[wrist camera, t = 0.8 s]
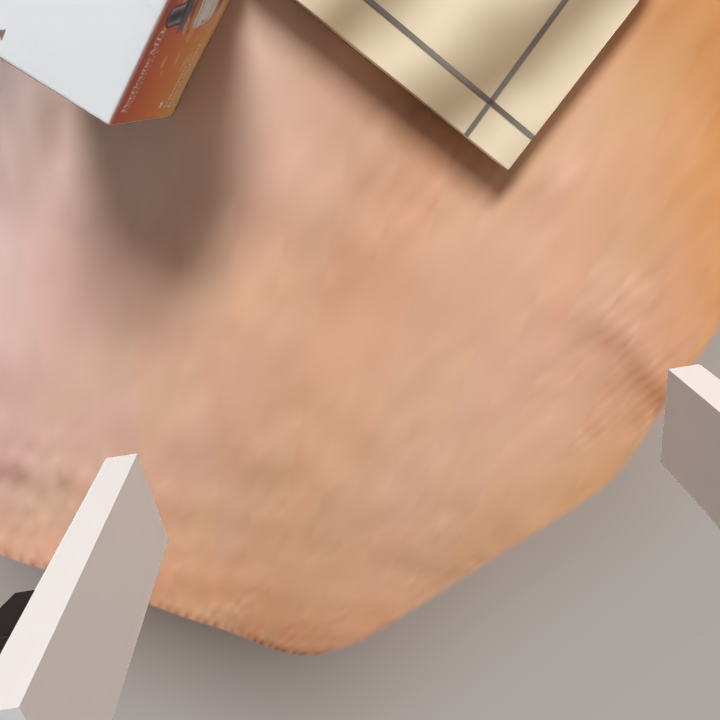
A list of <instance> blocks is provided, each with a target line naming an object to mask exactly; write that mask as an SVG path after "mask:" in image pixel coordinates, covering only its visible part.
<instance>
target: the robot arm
mask: <svg viewBox="0 0 720 720" xmlns="http://www.w3.org/2000/svg"><path fill="white" fill-rule="evenodd" d="M661 463H662V464H663V465H664V466H665V467H666V468H667V469H668V471H669V472H670V473H671V474H672V475H673V476H674V478H676V480H677V481H678V482H679V483H680V484H681V485H682V486H683V487H684V489H685V490H686V491H687V492H688V493H689V494H690V495H691V497H692V498H693V499H694V500H695V501H696V502H697V503H698V504H699V506H700V507H701V508H702V509H703V510H704V511H705V512H706V513H707V514H708V516H709V517H710V518H711V519H712V520H713V521H714V522H715V523H716V525H717V526H718V527H719V528H720V380H719V379H718V378H717V377H716V376H714V375H713V374H711V373H710V372H709V371H708V370H706V369H705V368H704V367H702V366H701V365H700V364H698V365H692V366H685V367H679V368H673V369H668V379H667V392H666V404H665V416H664V428H663V440H662V452H661ZM167 543H168V538H167V535H166V532H165V529H164V526H163V524H162V521H161V518H160V515H159V512H158V510H157V507H156V504H155V501H154V498H153V496H152V493H151V490H150V487H149V484H148V482H147V479H146V476H145V473H144V470H143V468H142V465H141V462H140V459H139V457H138V454H130V455H124V456H118V457H111V458H106V460H105V462H104V464H103V465H102V467H101V469H100V471H99V473H98V475H97V477H96V478H95V480H94V482H93V484H92V486H91V488H90V489H89V491H88V493H87V495H86V497H85V499H84V501H83V502H82V504H81V506H80V508H79V510H78V512H77V513H76V515H75V517H74V519H73V521H72V523H71V525H70V526H69V528H68V530H67V532H66V534H65V536H64V537H63V539H62V541H61V543H60V545H59V547H58V549H57V550H56V552H55V554H54V556H53V558H52V560H51V561H50V563H49V565H48V567H47V569H46V571H45V573H44V574H43V576H42V578H41V580H40V582H39V584H38V585H37V587H36V589H35V590H32V591H26V592H19V593H15V594H14V595H13V596H12V597H11V598H10V599H9V600H8V601H7V602H6V603H5V604H4V605H3V606H2V607H1V608H0V720H112V718H113V715H114V712H115V708H116V706H117V702H118V699H119V696H120V693H121V690H122V686H123V683H124V680H125V677H126V673H127V671H128V667H129V664H130V661H131V658H132V655H133V651H134V648H135V645H136V642H137V639H138V635H139V632H140V629H141V626H142V623H143V619H144V616H145V613H146V610H147V607H148V604H149V600H150V597H151V594H152V591H153V588H154V584H155V581H156V578H157V575H158V572H159V569H160V565H161V562H162V559H163V556H164V553H165V549H166V546H167Z"/></svg>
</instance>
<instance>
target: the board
mask: <svg viewBox="0 0 720 720" xmlns="http://www.w3.org/2000/svg"><path fill="white" fill-rule="evenodd" d="M294 1H295V2H297V3H298V4H299V5H300V6H302V7H303V8H304V9H305V10H307V11H308V12H309V13H310V14H312V15H313V16H314V17H315V18H317V19H318V20H319V21H320V22H322V23H323V24H324V25H325V26H327V27H328V28H329V29H330V30H332V31H333V32H334V33H335V34H337V35H338V36H339V37H340V38H342V39H343V40H344V41H345V42H347V43H348V44H349V45H350V46H352V47H353V48H354V49H355V50H356V51H358V52H359V53H360V54H361V55H363V56H364V57H365V58H366V59H368V60H369V61H370V62H371V63H373V64H374V65H375V66H376V67H378V68H379V69H380V70H381V71H383V72H384V73H385V74H386V75H388V76H389V77H390V78H391V79H393V80H394V81H395V82H396V83H398V84H399V85H400V86H401V87H403V88H404V89H405V90H406V91H408V92H409V93H410V94H411V95H413V96H414V97H415V98H416V99H418V100H419V101H420V102H421V103H422V104H424V105H425V106H426V107H427V108H429V109H430V110H431V111H432V112H434V113H435V114H436V115H437V116H439V117H440V118H441V119H442V120H444V121H445V122H446V123H447V124H449V125H450V126H451V127H452V128H454V129H455V130H456V131H457V132H459V133H460V134H461V135H462V136H464V137H465V138H466V139H467V140H469V141H470V142H471V143H472V144H474V145H475V146H476V147H477V148H479V149H480V150H481V151H482V152H484V153H485V154H486V155H487V156H488V157H490V158H491V159H492V160H493V161H495V162H496V163H497V164H498V165H500V166H502V167H504V168H506V169H508V170H509V168H510V167H511V166H512V165H513V163H514V162H515V161H516V159H517V158H518V157H519V155H520V154H521V153H522V152H523V150H524V149H525V148H526V146H527V145H528V144H529V143H530V141H531V140H532V139H533V138H534V137H535V135H536V134H537V132H538V131H539V130H540V128H541V127H542V126H543V124H544V123H545V122H546V121H547V119H548V118H549V117H550V115H551V114H552V113H553V112H554V110H555V109H556V108H557V106H558V105H559V104H560V102H561V101H562V100H563V99H564V97H565V96H566V95H567V93H568V92H569V91H570V90H571V88H572V87H573V86H574V84H575V83H576V82H577V81H578V79H579V78H580V77H581V75H582V74H583V73H584V71H585V70H586V69H587V68H588V66H589V65H590V64H591V62H592V61H593V60H594V59H595V57H596V56H597V55H598V53H599V52H600V51H601V49H602V48H603V47H604V46H605V44H606V43H607V42H608V40H609V39H610V38H611V37H612V35H613V34H614V33H615V31H616V30H617V29H618V28H619V26H620V25H621V24H622V22H623V21H624V20H625V18H626V17H627V16H628V15H629V13H630V12H631V11H632V9H633V8H634V7H635V6H636V4H637V3H638V2H639V0H294Z"/></svg>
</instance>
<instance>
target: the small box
mask: <svg viewBox="0 0 720 720" xmlns="http://www.w3.org/2000/svg"><path fill="white" fill-rule="evenodd" d="M229 1H230V0H0V58H1V59H3V60H4V61H6V62H8V63H9V64H11V65H12V66H14V67H16V68H17V69H19V70H21V71H22V72H24V73H25V74H27V75H29V76H30V77H32V78H33V79H35V80H37V81H38V82H40V83H41V84H43V85H45V86H46V87H48V88H49V89H51V90H53V91H54V92H56V93H57V94H59V95H61V96H62V97H64V98H65V99H67V100H69V101H70V102H72V103H73V104H75V105H77V106H78V107H80V108H81V109H83V110H85V111H86V112H88V113H89V114H91V115H93V116H94V117H96V118H97V119H99V120H101V121H102V122H104V123H105V124H107V125H116V124H124V123H130V122H137V121H144V120H150V119H157V118H164V117H170V116H172V114H173V113H174V110H175V108H176V106H177V104H178V102H179V100H180V97H181V95H182V93H183V91H184V89H185V87H186V85H187V83H188V80H189V78H190V76H191V74H192V72H193V70H194V68H195V66H196V64H197V63H198V61H199V59H200V57H201V55H202V53H203V51H204V49H205V47H206V45H207V44H208V42H209V40H210V38H211V36H212V34H213V32H214V30H215V28H216V26H217V24H218V22H219V20H220V18H221V16H222V14H223V13H224V11H225V9H226V7H227V5H228V3H229Z"/></svg>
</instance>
